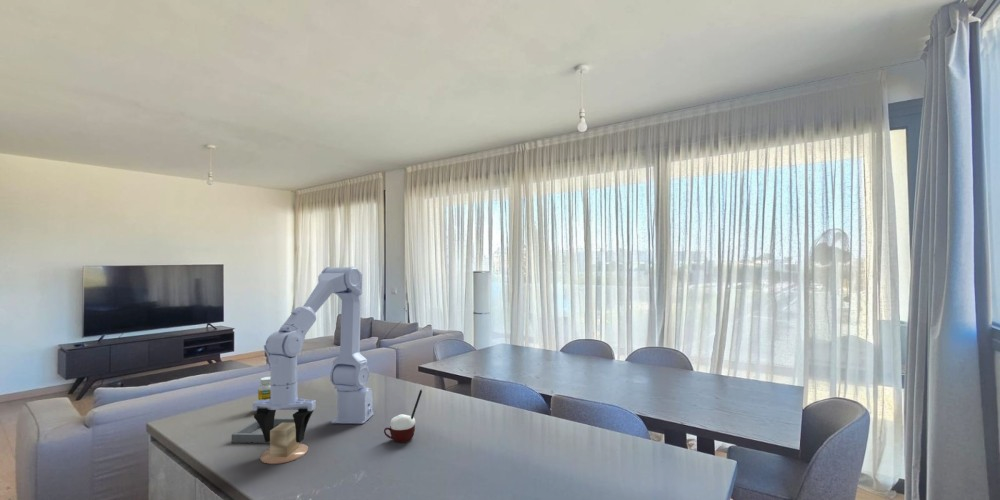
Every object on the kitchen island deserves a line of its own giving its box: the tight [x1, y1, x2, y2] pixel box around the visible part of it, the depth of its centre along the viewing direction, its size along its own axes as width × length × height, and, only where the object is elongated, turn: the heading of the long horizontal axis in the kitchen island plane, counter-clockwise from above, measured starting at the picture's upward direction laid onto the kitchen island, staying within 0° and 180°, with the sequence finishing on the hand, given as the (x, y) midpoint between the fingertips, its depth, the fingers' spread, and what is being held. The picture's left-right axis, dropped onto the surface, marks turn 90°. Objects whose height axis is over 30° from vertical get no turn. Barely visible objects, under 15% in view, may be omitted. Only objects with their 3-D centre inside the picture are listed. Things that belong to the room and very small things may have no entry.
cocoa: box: [383, 389, 423, 444], centre depth 109 cm, size 10×6×12 cm, turn 79°
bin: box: [231, 417, 295, 444], centre depth 115 cm, size 14×12×2 cm
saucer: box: [260, 442, 309, 465], centre depth 102 cm, size 10×10×1 cm
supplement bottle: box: [257, 376, 271, 400], centre depth 135 cm, size 5×5×10 cm
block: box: [269, 423, 299, 457], centre depth 102 cm, size 4×5×6 cm
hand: (284, 440), depth 102 cm, fingers open, 7 cm apart
